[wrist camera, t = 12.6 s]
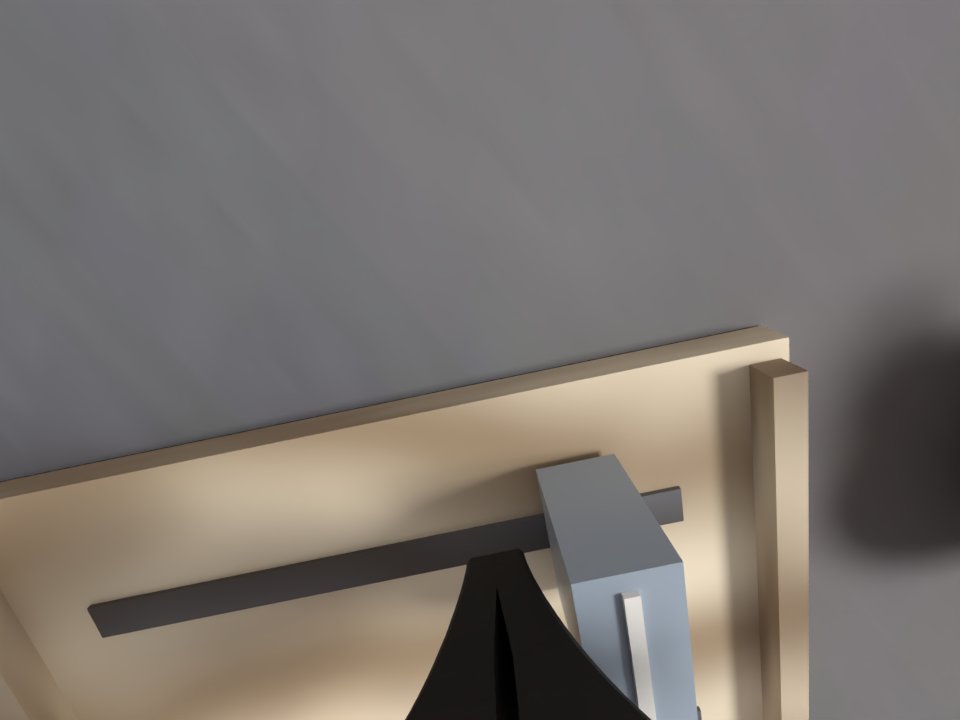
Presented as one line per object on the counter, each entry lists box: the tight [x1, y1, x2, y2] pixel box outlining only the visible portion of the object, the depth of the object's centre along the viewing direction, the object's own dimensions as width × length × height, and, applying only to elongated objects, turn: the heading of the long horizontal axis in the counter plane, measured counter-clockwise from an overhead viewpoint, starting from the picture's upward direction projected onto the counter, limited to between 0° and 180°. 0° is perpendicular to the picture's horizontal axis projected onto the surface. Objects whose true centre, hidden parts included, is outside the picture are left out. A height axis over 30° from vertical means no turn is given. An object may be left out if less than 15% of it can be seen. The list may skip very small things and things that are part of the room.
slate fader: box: [536, 454, 698, 720], centre depth 11 cm, size 4×2×4 cm, turn 11°
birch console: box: [0, 326, 809, 720], centre depth 15 cm, size 16×22×2 cm
